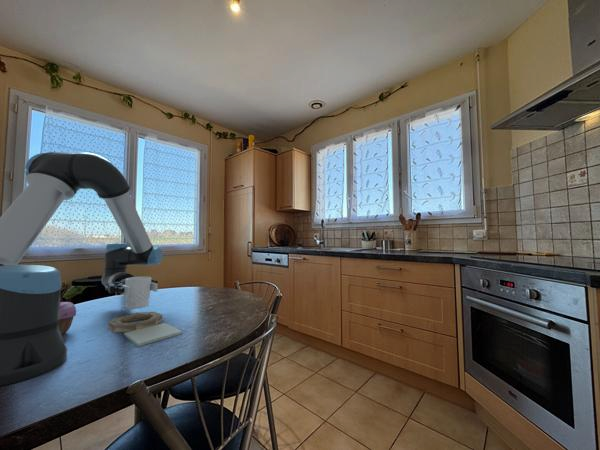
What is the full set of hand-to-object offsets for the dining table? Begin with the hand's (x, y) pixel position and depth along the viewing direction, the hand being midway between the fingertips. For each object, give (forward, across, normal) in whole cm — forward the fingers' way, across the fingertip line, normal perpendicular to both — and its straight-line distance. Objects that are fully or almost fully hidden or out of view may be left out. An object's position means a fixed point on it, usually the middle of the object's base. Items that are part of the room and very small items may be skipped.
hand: (143, 289), depth 84 cm
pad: (+10, 0, -13) cm, 16 cm away
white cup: (-5, 0, -7) cm, 8 cm away
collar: (-5, 0, -12) cm, 13 cm away
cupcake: (-13, +19, -13) cm, 27 cm away
